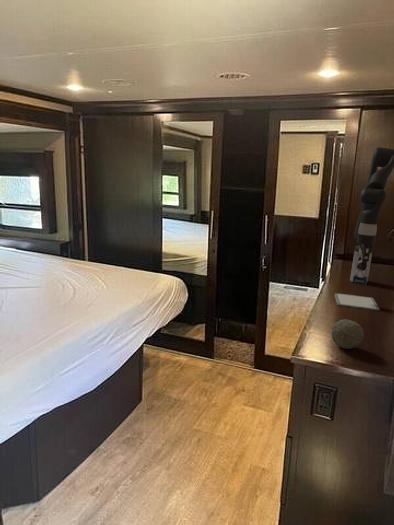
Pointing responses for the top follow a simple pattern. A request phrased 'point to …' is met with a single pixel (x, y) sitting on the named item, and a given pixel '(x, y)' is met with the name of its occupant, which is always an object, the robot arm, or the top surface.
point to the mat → (356, 301)
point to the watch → (360, 275)
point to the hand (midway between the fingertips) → (361, 267)
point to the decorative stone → (347, 334)
